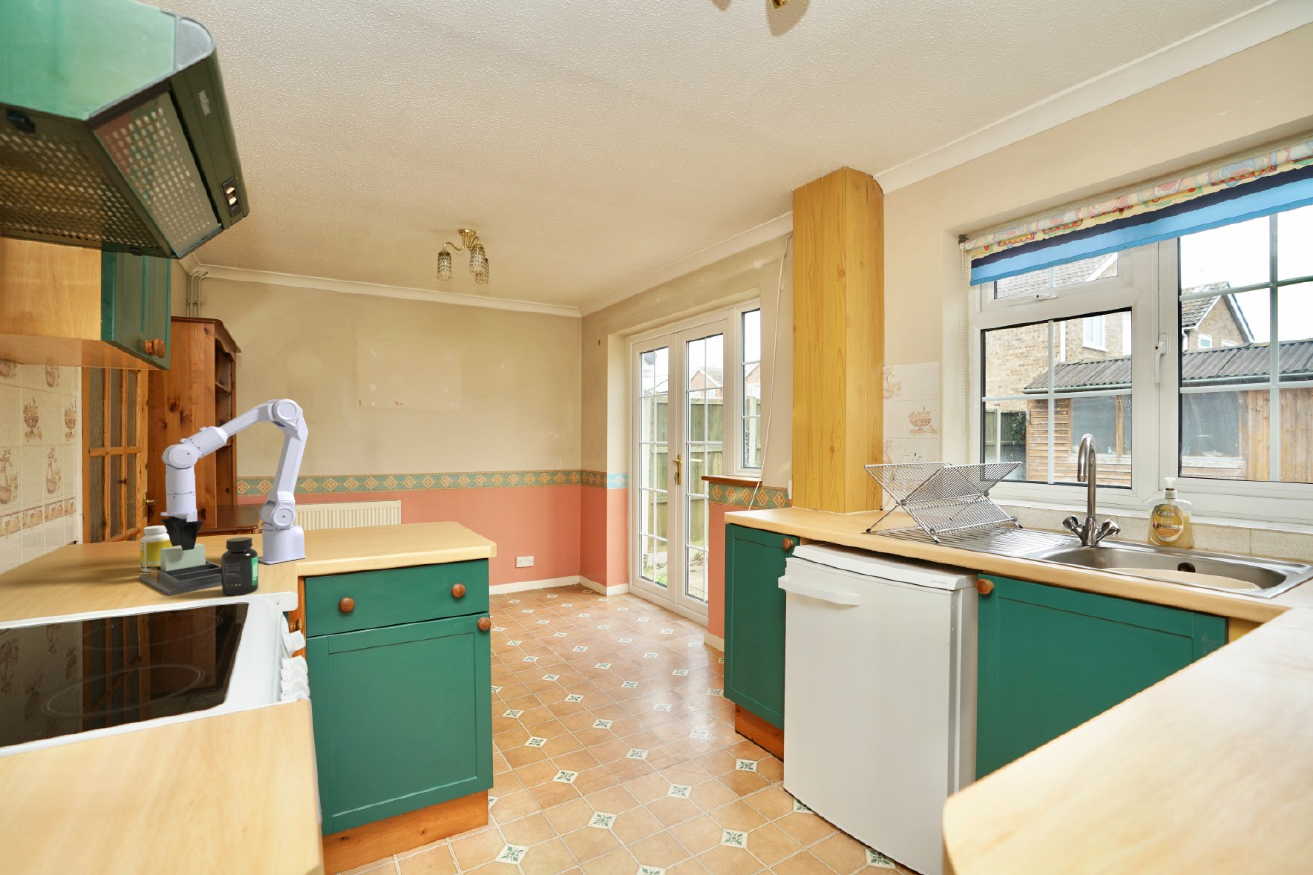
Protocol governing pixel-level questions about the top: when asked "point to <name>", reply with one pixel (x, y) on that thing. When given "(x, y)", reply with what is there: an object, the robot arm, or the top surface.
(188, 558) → the panel block
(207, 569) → the rack
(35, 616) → the top surface
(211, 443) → the robot arm
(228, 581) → the supplement bottle
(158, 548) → the pill bottle
